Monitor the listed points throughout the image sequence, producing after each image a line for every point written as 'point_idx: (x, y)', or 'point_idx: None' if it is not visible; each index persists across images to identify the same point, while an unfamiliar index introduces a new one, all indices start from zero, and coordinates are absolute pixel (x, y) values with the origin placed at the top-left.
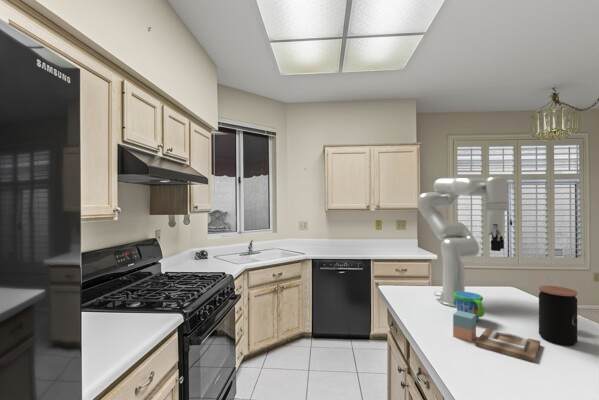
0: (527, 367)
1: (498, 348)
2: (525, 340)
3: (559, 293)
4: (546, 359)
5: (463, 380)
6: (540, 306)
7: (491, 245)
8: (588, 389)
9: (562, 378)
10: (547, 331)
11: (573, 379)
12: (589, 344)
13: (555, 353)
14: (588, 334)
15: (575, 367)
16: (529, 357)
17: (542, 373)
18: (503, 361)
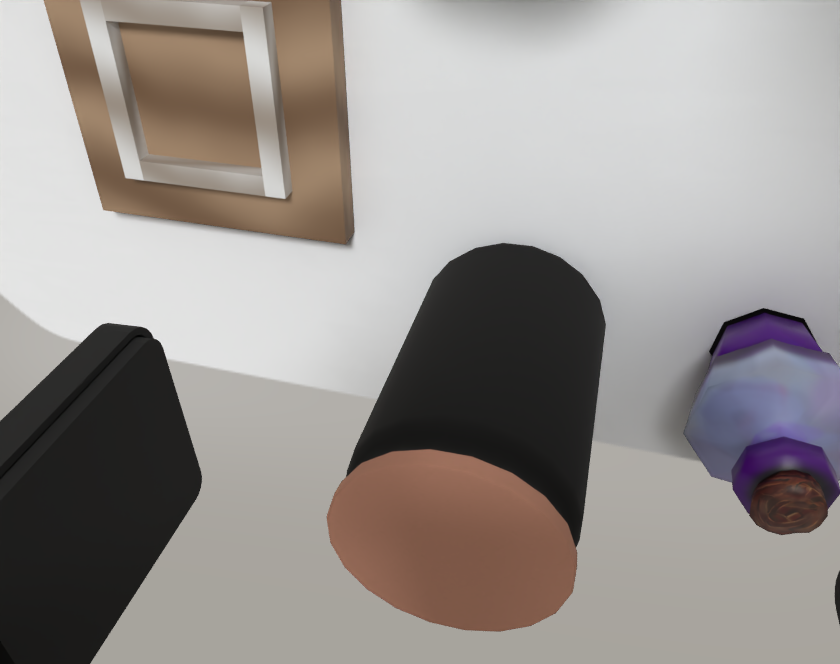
0: (47, 173)
1: (61, 56)
2: (237, 185)
3: (331, 536)
4: (199, 243)
5: None
6: (425, 362)
7: (17, 420)
8: (71, 331)
9: (75, 276)
10: (424, 300)
11: (101, 305)
12: None
13: (304, 282)
14: None
15: (215, 327)
16: (101, 190)
17: (49, 221)
18: (6, 81)
